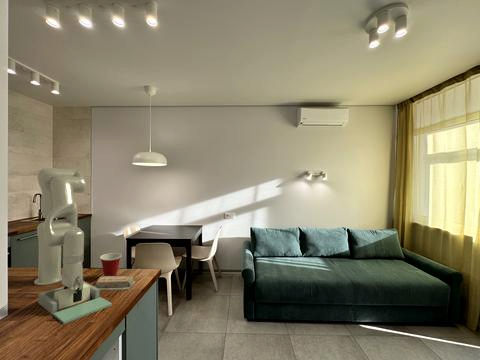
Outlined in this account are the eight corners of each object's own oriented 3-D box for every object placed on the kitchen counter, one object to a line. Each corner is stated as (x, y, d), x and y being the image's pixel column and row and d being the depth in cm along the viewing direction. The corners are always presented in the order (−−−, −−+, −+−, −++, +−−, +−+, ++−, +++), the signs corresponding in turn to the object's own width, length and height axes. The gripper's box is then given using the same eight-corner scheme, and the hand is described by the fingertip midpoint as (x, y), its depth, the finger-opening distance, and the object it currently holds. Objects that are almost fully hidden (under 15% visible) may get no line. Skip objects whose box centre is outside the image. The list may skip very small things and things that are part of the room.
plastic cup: (101, 282, 133) (101, 259, 133) (97, 276, 141) (98, 254, 141) (123, 278, 139) (123, 256, 139) (118, 272, 148) (119, 251, 148)
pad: (53, 315, 100) (53, 313, 100) (100, 298, 114) (100, 297, 114) (63, 323, 94) (63, 321, 94) (111, 305, 109) (111, 303, 109)
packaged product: (135, 273, 134) (128, 281, 124) (135, 283, 134) (128, 291, 124) (100, 274, 133) (90, 281, 123) (100, 283, 133) (90, 291, 123)
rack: (38, 303, 109) (38, 293, 110) (83, 289, 124) (83, 281, 124) (52, 314, 100) (52, 304, 100) (99, 298, 115) (99, 289, 115)
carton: (54, 306, 107) (54, 292, 107) (84, 296, 117) (85, 283, 117) (58, 310, 104) (59, 295, 104) (89, 299, 114) (90, 286, 114)
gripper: (55, 257, 113) (54, 295, 113) (72, 265, 103) (71, 307, 103) (74, 253, 119) (73, 290, 119) (91, 260, 109) (90, 300, 109)
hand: (72, 298), depth 111 cm, fingers open, 9 cm apart
